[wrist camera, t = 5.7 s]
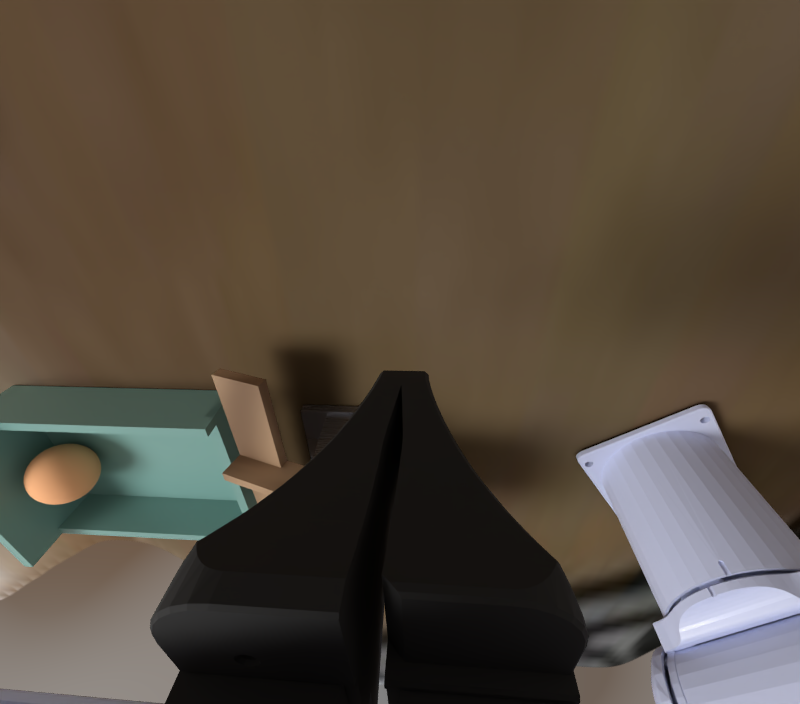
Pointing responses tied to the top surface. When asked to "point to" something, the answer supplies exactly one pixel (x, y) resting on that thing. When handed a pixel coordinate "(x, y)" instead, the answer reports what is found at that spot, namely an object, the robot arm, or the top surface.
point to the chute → (253, 434)
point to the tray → (119, 464)
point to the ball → (62, 474)
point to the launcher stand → (323, 424)
